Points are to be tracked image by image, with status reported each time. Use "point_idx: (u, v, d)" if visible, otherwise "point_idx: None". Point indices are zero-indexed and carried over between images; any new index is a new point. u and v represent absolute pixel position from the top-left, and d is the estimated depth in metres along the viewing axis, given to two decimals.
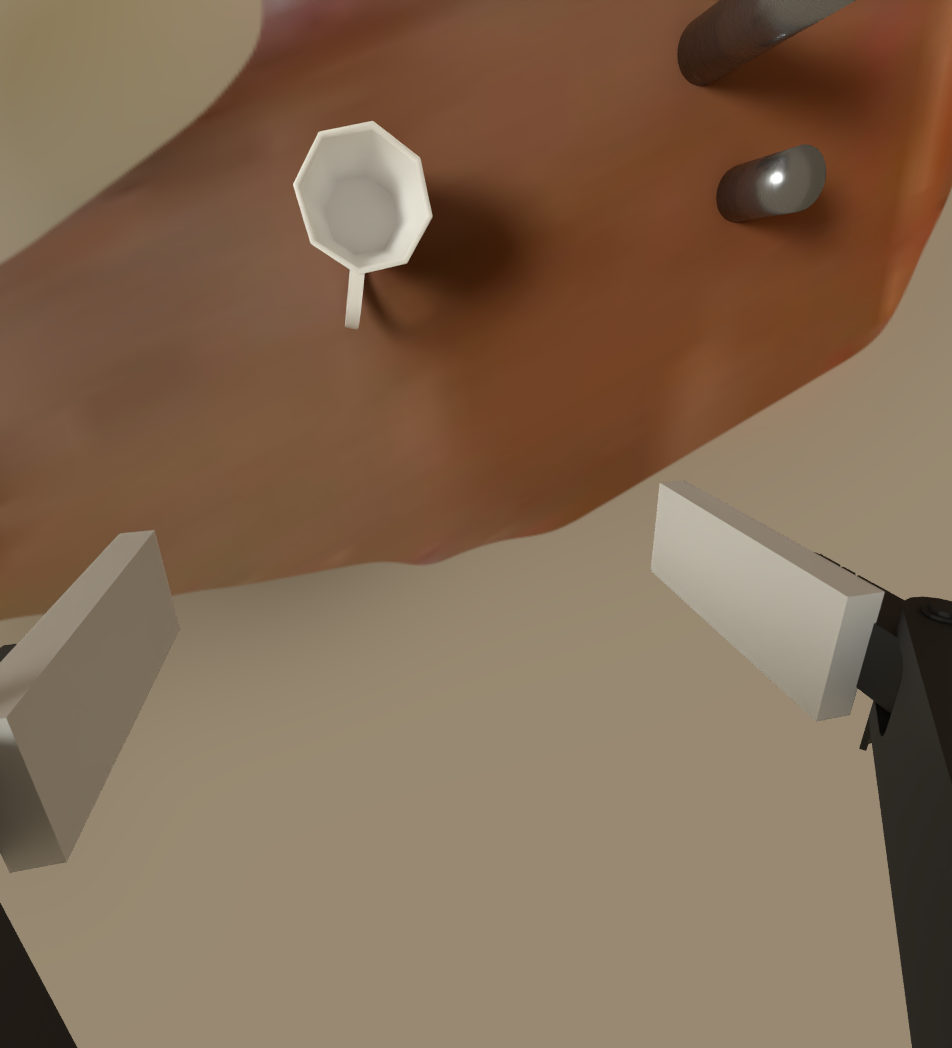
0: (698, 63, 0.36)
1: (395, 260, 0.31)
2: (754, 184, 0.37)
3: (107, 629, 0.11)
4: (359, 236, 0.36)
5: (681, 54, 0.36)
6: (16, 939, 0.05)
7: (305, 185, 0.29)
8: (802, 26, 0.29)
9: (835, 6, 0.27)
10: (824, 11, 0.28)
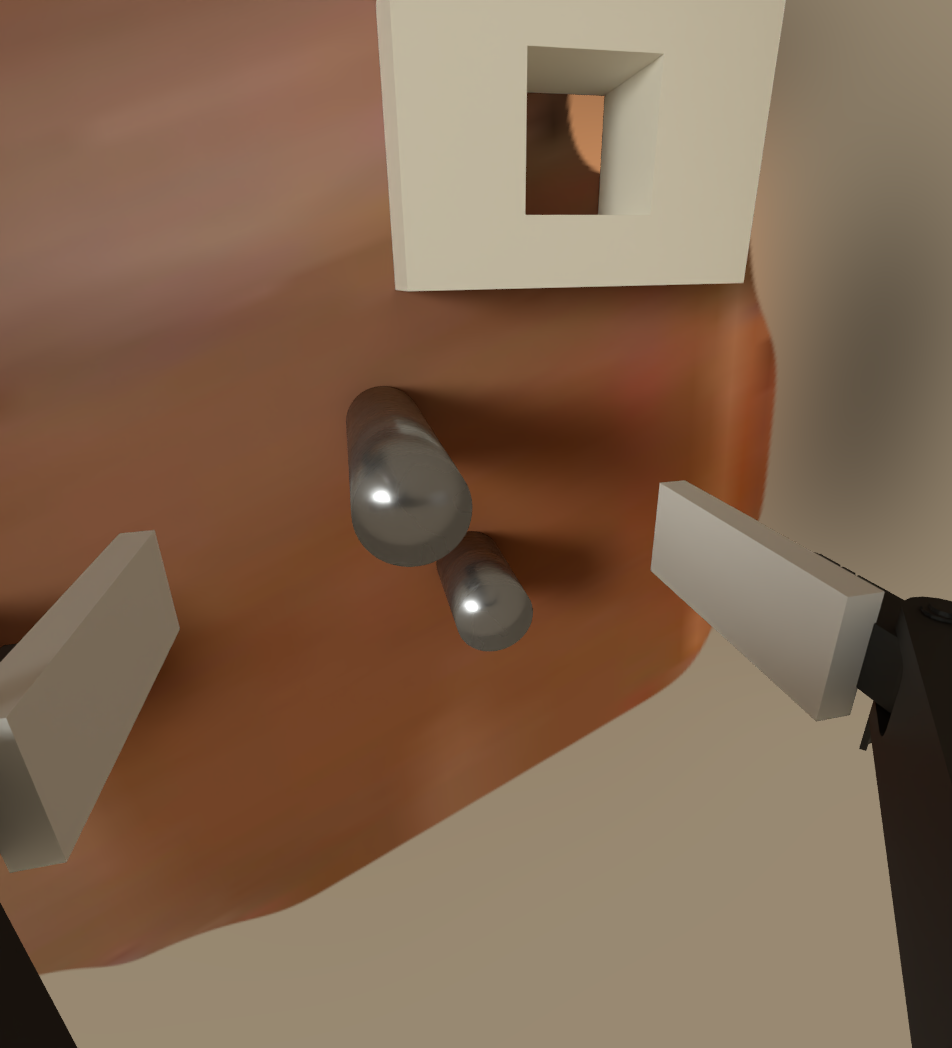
0: None
1: None
2: (449, 603, 0.28)
3: (107, 629, 0.11)
4: None
5: None
6: (16, 939, 0.05)
7: None
8: None
9: None
10: None
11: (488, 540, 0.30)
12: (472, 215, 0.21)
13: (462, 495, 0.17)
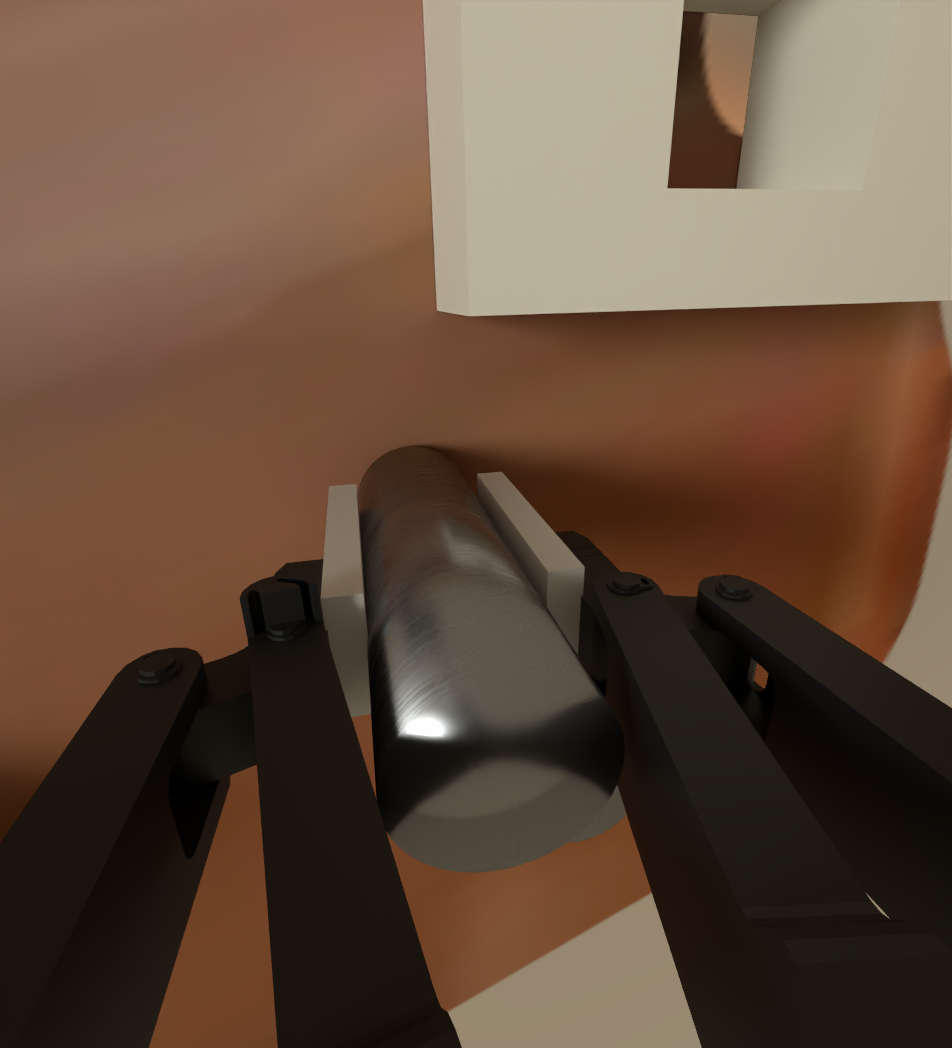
0: None
1: None
2: None
3: (361, 551, 0.13)
4: None
5: None
6: (367, 777, 0.07)
7: None
8: None
9: None
10: None
11: None
12: (581, 188, 0.12)
13: (607, 740, 0.08)
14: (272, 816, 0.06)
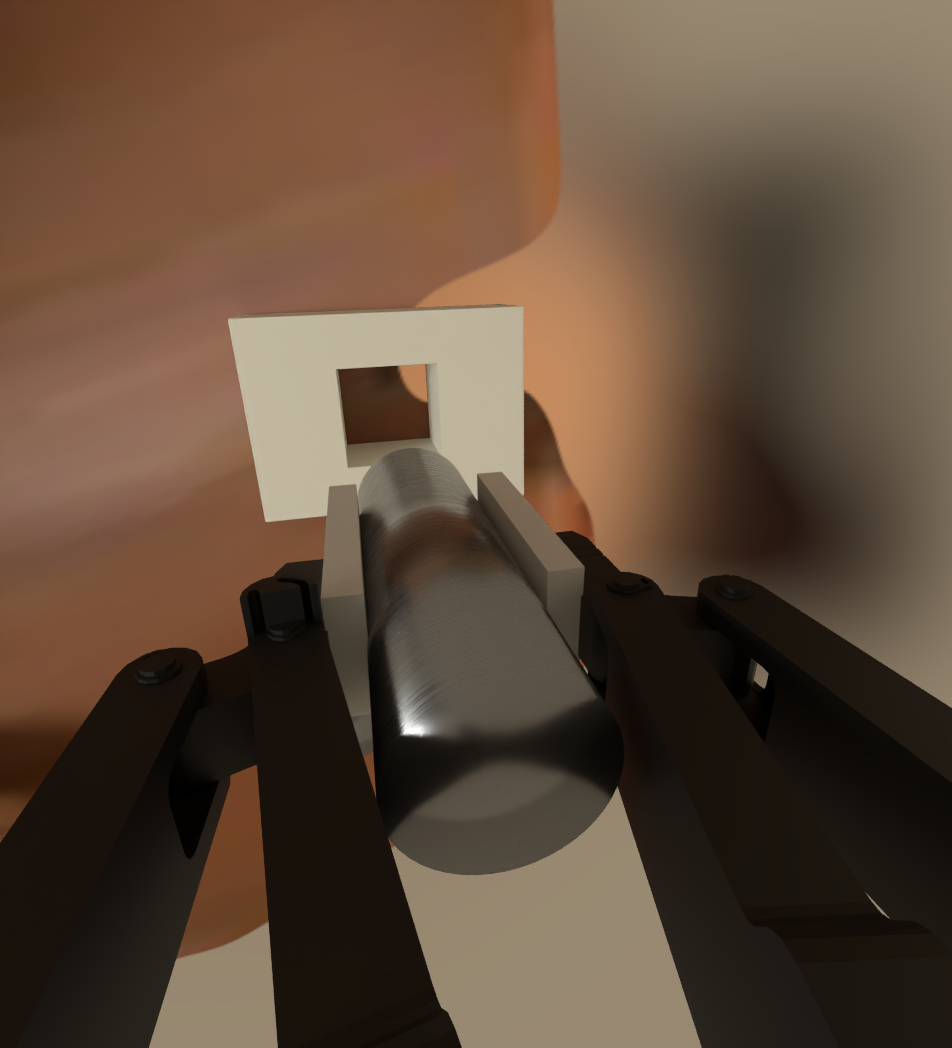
0: None
1: None
2: None
3: (361, 552, 0.13)
4: None
5: None
6: (367, 777, 0.07)
7: None
8: None
9: None
10: None
11: None
12: (308, 471, 0.29)
13: (607, 743, 0.08)
14: (272, 816, 0.06)
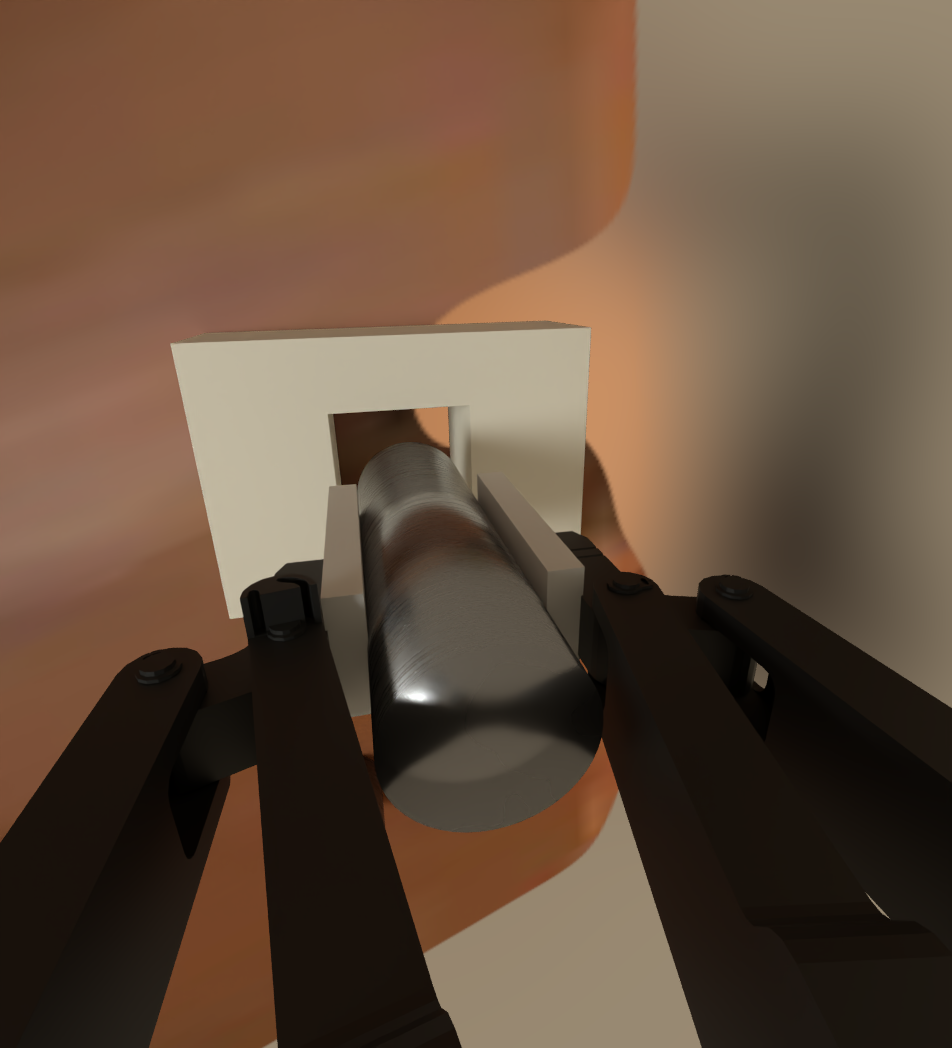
0: None
1: None
2: None
3: (361, 552, 0.13)
4: None
5: None
6: (367, 777, 0.07)
7: None
8: None
9: None
10: None
11: None
12: (288, 552, 0.21)
13: (587, 708, 0.09)
14: (272, 816, 0.06)
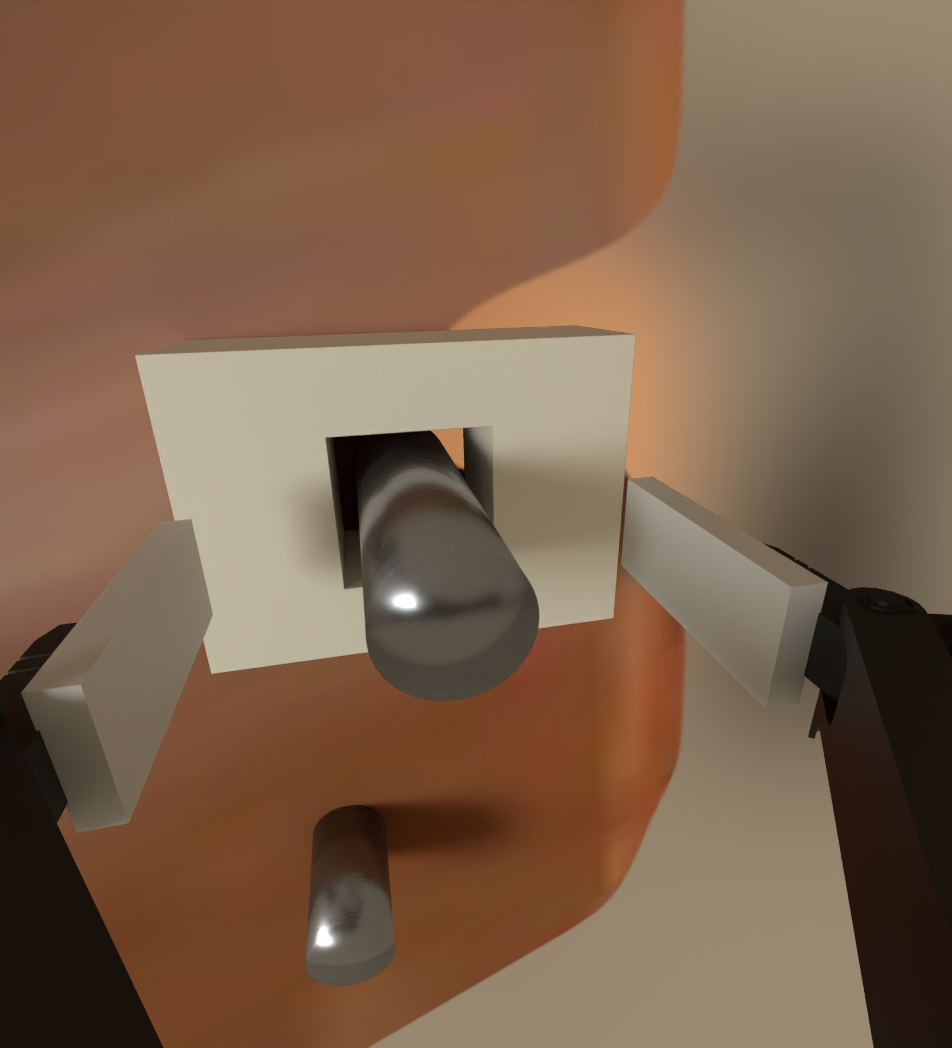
0: None
1: None
2: None
3: (155, 609, 0.11)
4: None
5: None
6: (88, 896, 0.05)
7: None
8: None
9: None
10: None
11: (365, 822, 0.28)
12: (280, 597, 0.18)
13: (526, 603, 0.12)
14: None
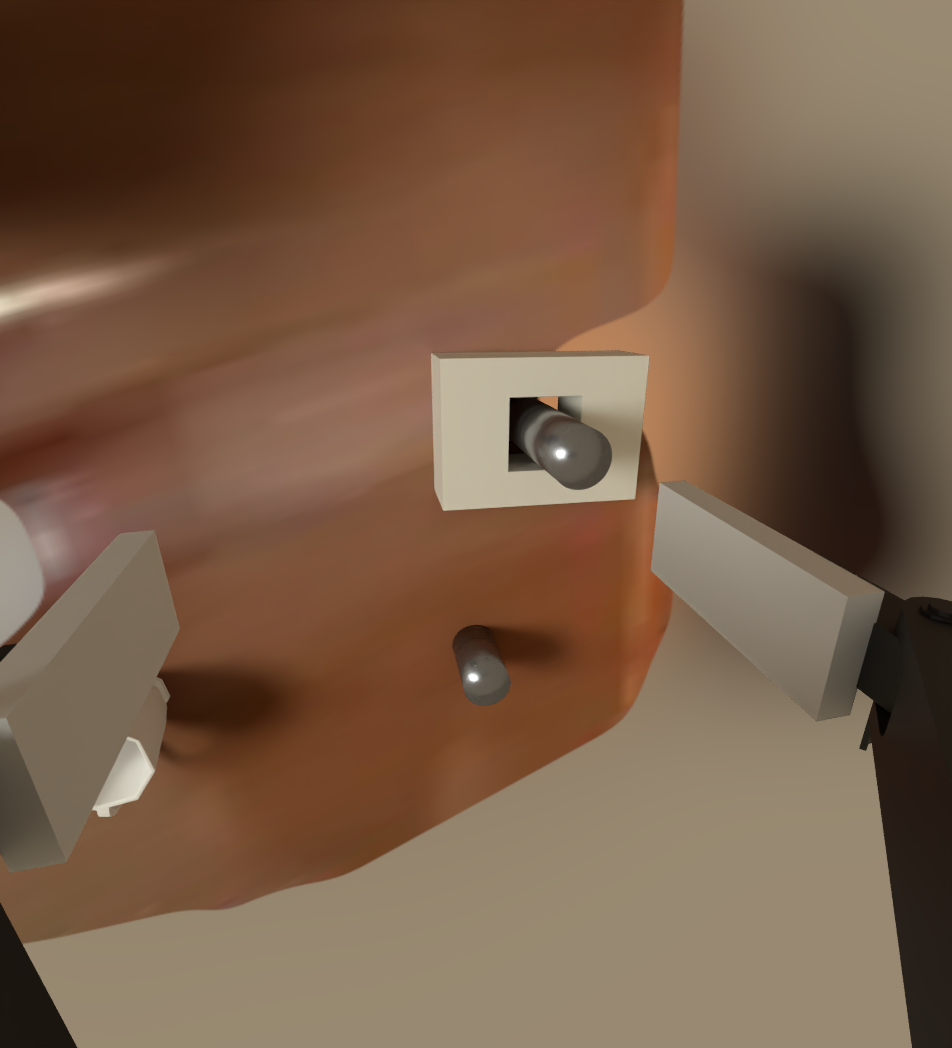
0: (514, 443, 0.42)
1: (128, 797, 0.39)
2: (460, 674, 0.45)
3: (107, 628, 0.11)
4: None
5: None
6: (17, 939, 0.05)
7: None
8: None
9: None
10: None
11: (485, 632, 0.48)
12: (479, 473, 0.39)
13: (607, 451, 0.32)
14: None
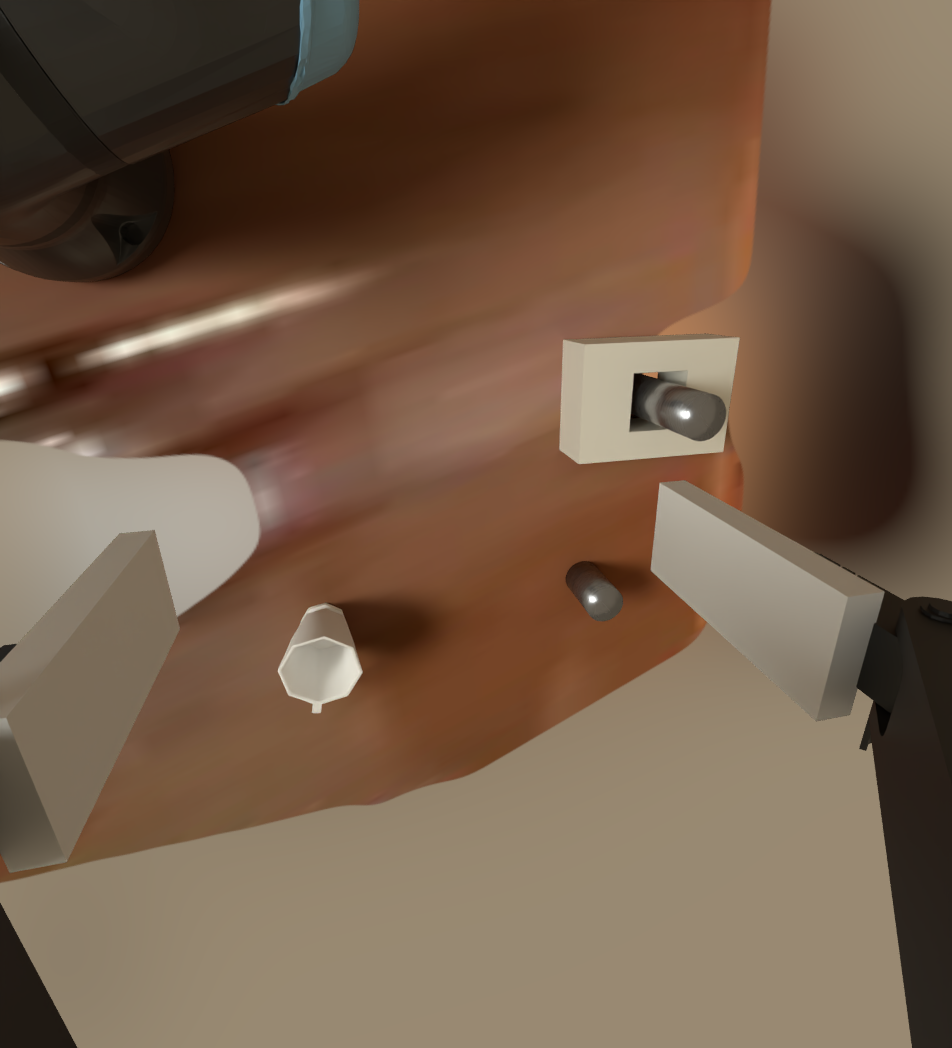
0: None
1: (340, 694, 0.50)
2: (580, 598, 0.56)
3: (107, 629, 0.11)
4: (322, 640, 0.55)
5: None
6: (16, 939, 0.05)
7: None
8: None
9: None
10: None
11: (594, 566, 0.59)
12: (607, 434, 0.50)
13: (723, 411, 0.43)
14: None
